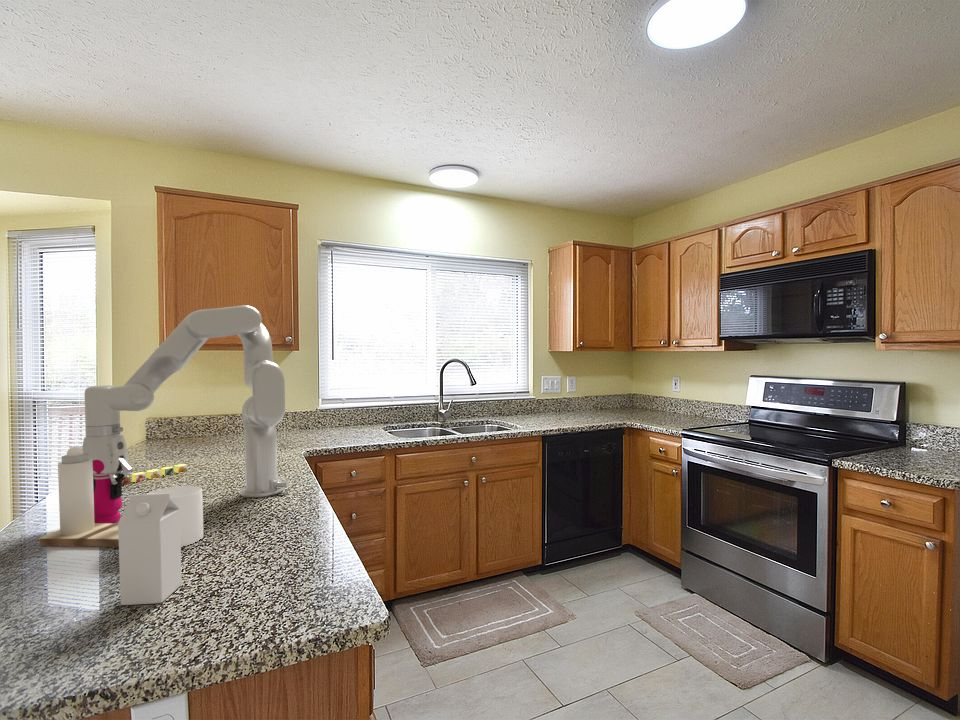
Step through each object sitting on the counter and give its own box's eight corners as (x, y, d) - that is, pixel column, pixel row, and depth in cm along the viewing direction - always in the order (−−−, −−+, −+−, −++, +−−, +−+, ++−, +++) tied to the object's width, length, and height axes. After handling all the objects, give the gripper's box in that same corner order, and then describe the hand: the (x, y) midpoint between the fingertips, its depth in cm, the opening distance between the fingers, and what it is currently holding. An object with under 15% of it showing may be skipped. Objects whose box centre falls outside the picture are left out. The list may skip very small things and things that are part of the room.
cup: (143, 554, 112) (141, 501, 112) (149, 537, 122) (148, 489, 122) (202, 544, 117) (201, 494, 117) (204, 529, 128) (203, 482, 127)
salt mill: (101, 525, 126) (98, 443, 125) (78, 535, 119) (75, 449, 119) (76, 525, 126) (74, 443, 126) (52, 535, 119) (49, 449, 119)
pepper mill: (129, 518, 137) (126, 446, 137) (101, 527, 130) (99, 451, 130) (110, 516, 139) (108, 445, 139) (82, 524, 132) (80, 450, 132)
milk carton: (143, 587, 96) (140, 489, 96) (182, 585, 97) (179, 488, 96) (120, 606, 89) (117, 500, 89) (161, 603, 90) (158, 499, 89)
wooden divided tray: (158, 531, 126) (157, 523, 126) (127, 547, 116) (127, 538, 116) (76, 530, 128) (76, 523, 128) (39, 546, 118) (39, 537, 118)
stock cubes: (86, 484, 176) (86, 475, 176) (180, 466, 203) (180, 457, 203) (130, 497, 159) (129, 487, 159) (226, 475, 186) (225, 466, 186)
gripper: (143, 429, 137) (145, 494, 138) (85, 429, 139) (87, 493, 139) (122, 433, 130) (124, 502, 130) (60, 433, 131) (62, 501, 131)
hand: (105, 497), depth 135 cm, fingers closed on pepper mill, 5 cm apart
